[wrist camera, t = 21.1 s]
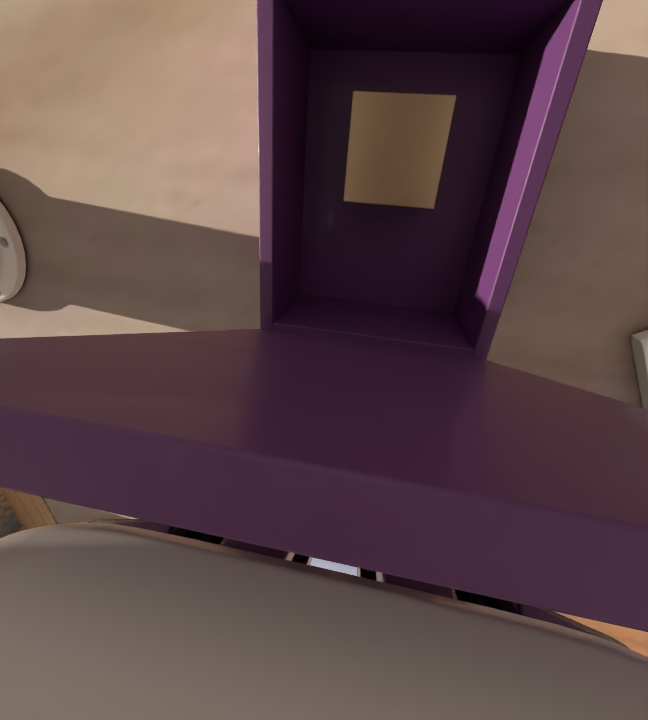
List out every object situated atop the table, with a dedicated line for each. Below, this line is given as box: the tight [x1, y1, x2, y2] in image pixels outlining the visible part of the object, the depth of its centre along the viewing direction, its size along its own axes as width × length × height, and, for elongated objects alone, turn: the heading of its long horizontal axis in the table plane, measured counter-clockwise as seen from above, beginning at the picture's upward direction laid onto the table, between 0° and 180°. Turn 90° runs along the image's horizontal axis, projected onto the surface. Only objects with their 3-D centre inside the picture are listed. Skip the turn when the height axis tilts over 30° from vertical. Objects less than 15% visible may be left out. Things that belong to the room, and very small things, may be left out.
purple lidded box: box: [256, 0, 603, 360], centre depth 20 cm, size 17×14×8 cm
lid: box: [0, 329, 648, 632], centre depth 11 cm, size 17×14×1 cm
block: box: [343, 91, 456, 209], centre depth 20 cm, size 5×5×5 cm
